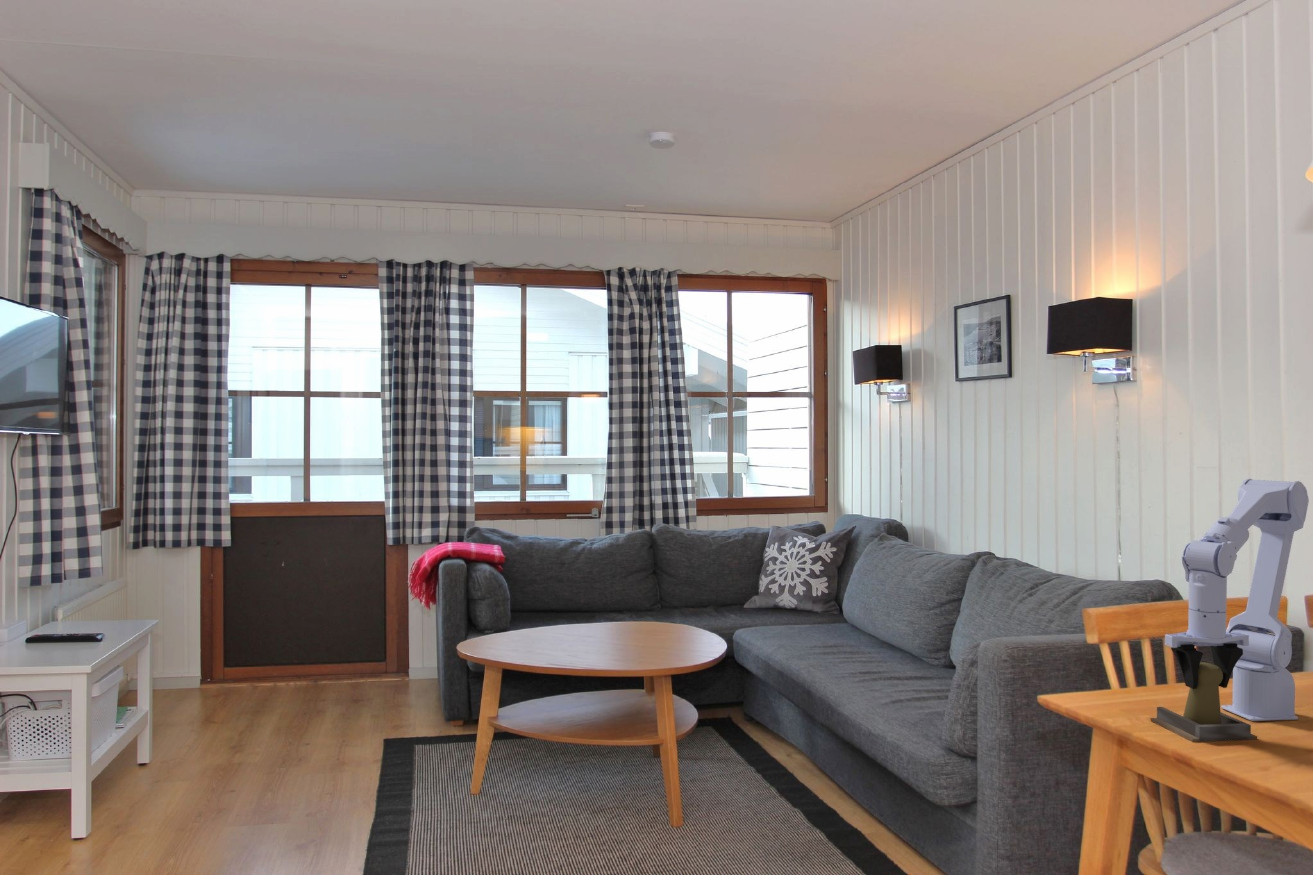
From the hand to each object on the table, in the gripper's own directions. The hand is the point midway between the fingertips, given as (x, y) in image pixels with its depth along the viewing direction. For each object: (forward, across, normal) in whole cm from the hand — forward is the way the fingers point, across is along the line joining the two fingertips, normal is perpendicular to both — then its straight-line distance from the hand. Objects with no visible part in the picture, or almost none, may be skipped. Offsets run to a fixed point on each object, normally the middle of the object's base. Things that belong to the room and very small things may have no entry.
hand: (1206, 686), depth 160 cm
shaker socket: (+8, 0, -2) cm, 8 cm away
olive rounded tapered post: (+7, 0, -1) cm, 7 cm away
